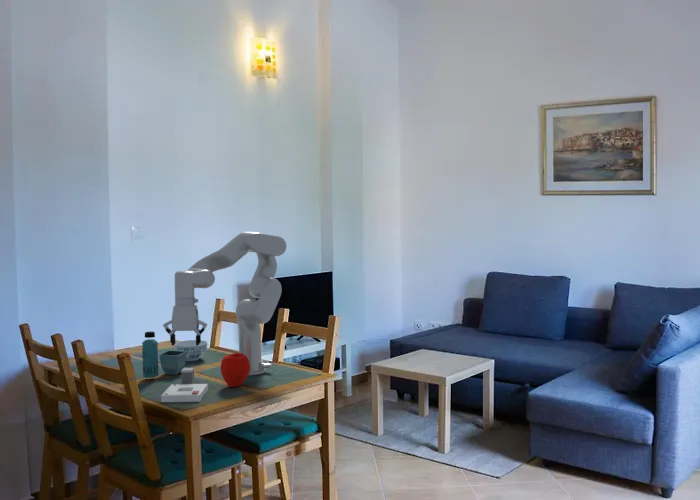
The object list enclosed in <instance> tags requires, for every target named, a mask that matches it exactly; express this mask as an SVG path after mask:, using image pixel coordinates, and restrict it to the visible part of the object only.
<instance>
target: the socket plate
mask: <svg viewBox="0 0 700 500" xmlns="http://www.w3.org/2000/svg"><path fill="white" fill-rule="evenodd" d="M208 391H209V384H208V383H194V384H182V383H175V384H174V383H172V384H170V386H169V387H167V388H166V390H165V391H164V392H163V393H162V394H161V395H160V397H161V398H160V399H161V400H160V401H161V403H194V402H195V403H196V402H201V400H202V399H203V397H204V396H205V395H206V394H207V393H208Z"/></svg>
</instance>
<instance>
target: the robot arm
mask: <svg viewBox="0 0 700 500" xmlns="http://www.w3.org/2000/svg"><path fill="white" fill-rule="evenodd" d="M286 250H287V242H286V240H285V239H284V238H283V237H281V236H278V235H273V234H266V233H261V232H258V231H257V232H255V231H243V232H240V233H238V234H237V235H236V236H235V237H233V238H232V239H231V240H230V241H228V242H227V243H226V244H224V246H223V247H221V248H220V249H218V250H217V251H214V252H212V253H210V254H209V255H207V256H204V257H203V258H201V259H199V260H198V261H196V262H195V263H194V264H192V265H191V266H190V267H189V268H188V269H187V270H179V271H178V270H177V271H175V273H174V305H173V307H172V315H171V320H169V321H167V322H164V323H163V325H162V326H163V328H164V330H165V332H166V333H168V335H169V336H170V337H169V340H170V344H171V346H175V343H176V334H175V333H176V332H188V331H189V332H190V331H193V332H194V333H195V334H196V335H195V340H196V345H199V343H201V340H202V338H201V336H202V334H203V332H205V331H206V329H207V327H208V323H207V322H206V321H203V320H201V319H200V317H199V309H198V305H197V304H196V303H199V299H198V298H196V297H195V289H208V288H210V287H212V286H213V285H214V283H215V280H216V278H215V274H214V272H217V271H220V270H225V269H227V268H230V267H233V266H234V265H235V264H236V263H237V262H239V261H240V260H241V259H242V258H243V257H245V256H246V255H247V254H248V253H255V254H256V256H257V260H258V262H257V267H256V269H255V271H254V274H253V276H252V278H251V281H250V282H249V285H248V293H249V295H250V296H251V297H253V298H256V299H250V298H245V299H242V300H240V301H239V302H238V304H237V305H236V308H235V314H236V315H235V316H236V319H237V326H238V353H242V354H244V355H246V356H247V358H248V360H249V362H250V372H249V374H248V376H258V375H262V374H265V372H266V369H272V368H273V366H272V365H273V364H272V363H269V362H267V363H265V362H264V360H263V359H262V329H261V324H263V325H264V324H266V323H268V322H269V321H270V320H271V318H272V317H273V315H274V312H275V310H276V308H277V305H278V303H279V301H280V298H281V296H282V292H283V291H282V284H281V282H280V281H279V280H278V279H276V278H275V276H276V273H277V269H278V262H277V257H280V256H282V255H284V254H285V252H286ZM169 325H171V328H169ZM200 325H201V326H202V327H201V329H200V328H199V327H200Z"/></svg>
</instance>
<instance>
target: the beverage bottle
mask: <svg viewBox="0 0 700 500" xmlns="http://www.w3.org/2000/svg"><path fill="white" fill-rule="evenodd" d="M155 333H156V332H155V331H144V338H146V339H144V341H142V343H141V344H142V345H141V347H142V349H141V351H142V352H141V354H142V355H141V357H142V376H143V378H148V379H150V378H151V379H152V378H156V377H159V366H160V365H159V362H160V360H159V348H158V347H159V343H158V341H157V340H156V339H154V338H155V337H156V334H155Z"/></svg>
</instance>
